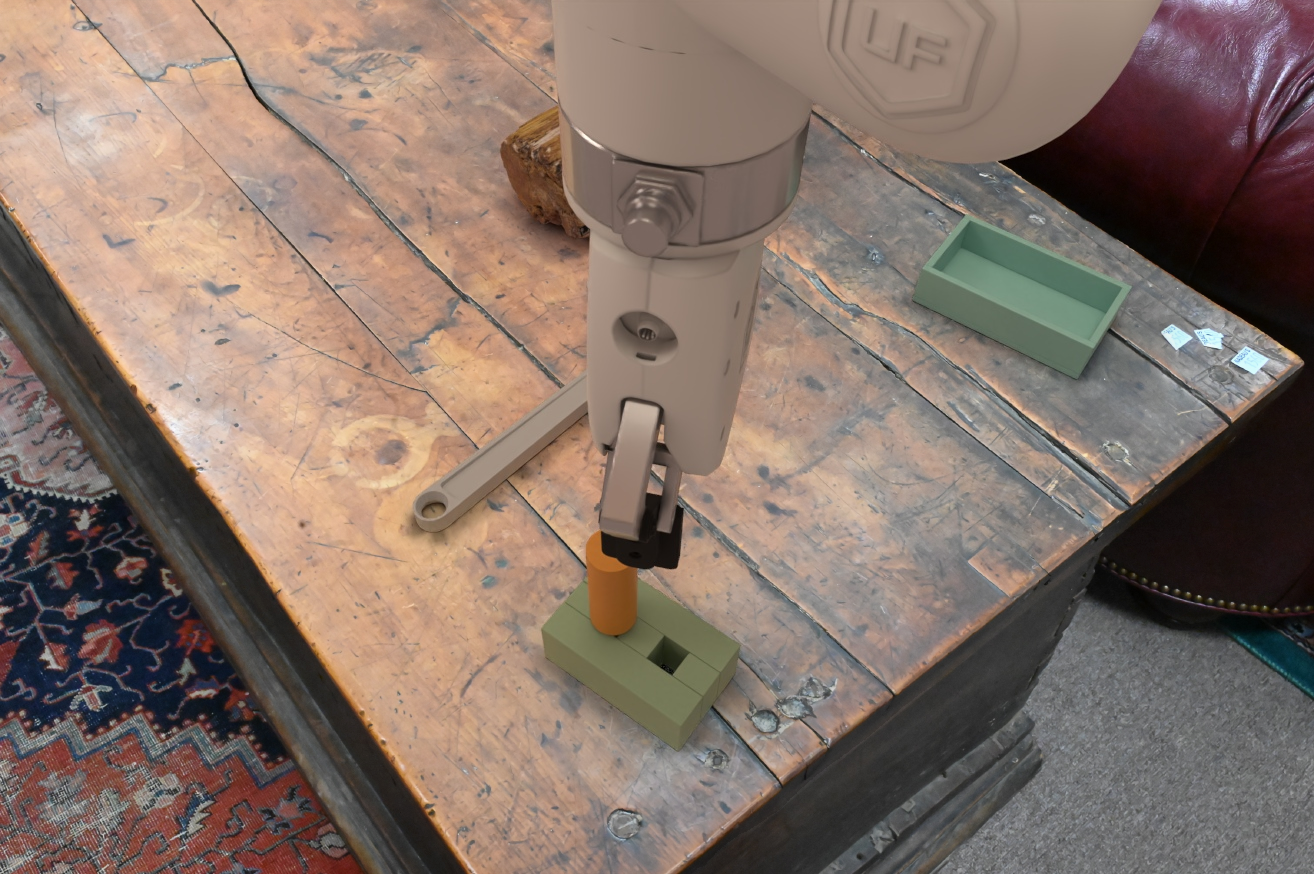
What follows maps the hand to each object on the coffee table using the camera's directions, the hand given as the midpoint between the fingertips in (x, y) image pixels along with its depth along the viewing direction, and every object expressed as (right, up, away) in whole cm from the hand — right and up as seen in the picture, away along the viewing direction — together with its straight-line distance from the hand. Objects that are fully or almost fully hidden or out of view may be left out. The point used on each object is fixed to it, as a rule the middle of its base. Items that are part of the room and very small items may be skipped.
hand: (666, 464), depth 45 cm
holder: (-1, -13, +18) cm, 22 cm away
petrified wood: (-4, +24, +46) cm, 52 cm away
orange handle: (-3, -12, +19) cm, 23 cm away
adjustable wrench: (-8, +3, +30) cm, 31 cm away
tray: (+29, +12, +38) cm, 49 cm away
